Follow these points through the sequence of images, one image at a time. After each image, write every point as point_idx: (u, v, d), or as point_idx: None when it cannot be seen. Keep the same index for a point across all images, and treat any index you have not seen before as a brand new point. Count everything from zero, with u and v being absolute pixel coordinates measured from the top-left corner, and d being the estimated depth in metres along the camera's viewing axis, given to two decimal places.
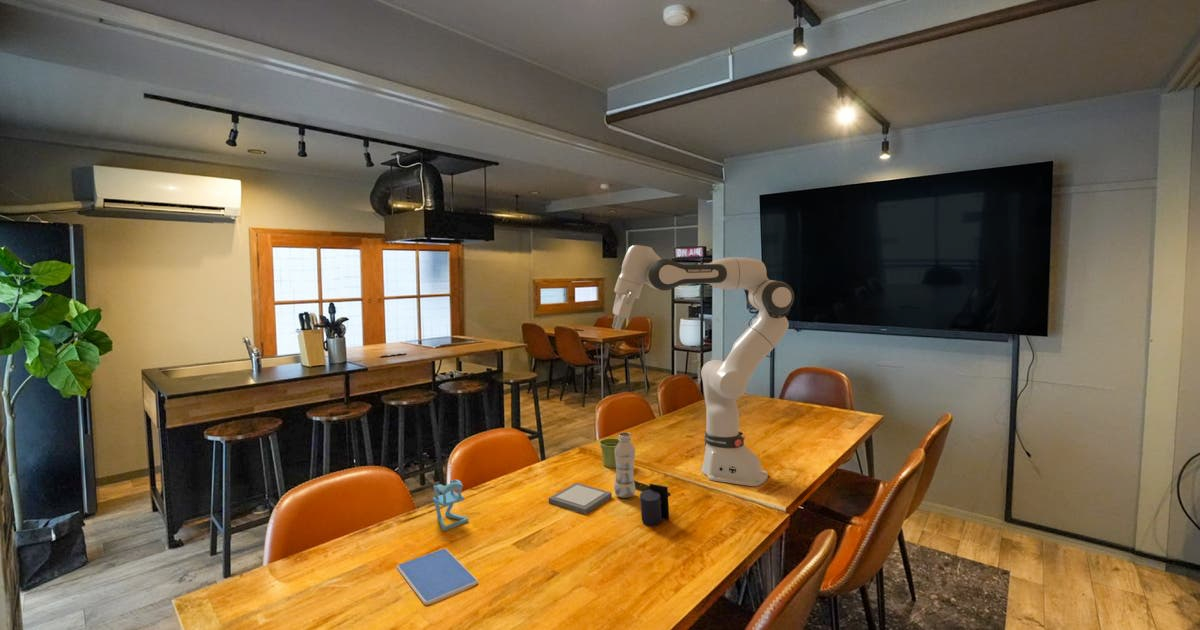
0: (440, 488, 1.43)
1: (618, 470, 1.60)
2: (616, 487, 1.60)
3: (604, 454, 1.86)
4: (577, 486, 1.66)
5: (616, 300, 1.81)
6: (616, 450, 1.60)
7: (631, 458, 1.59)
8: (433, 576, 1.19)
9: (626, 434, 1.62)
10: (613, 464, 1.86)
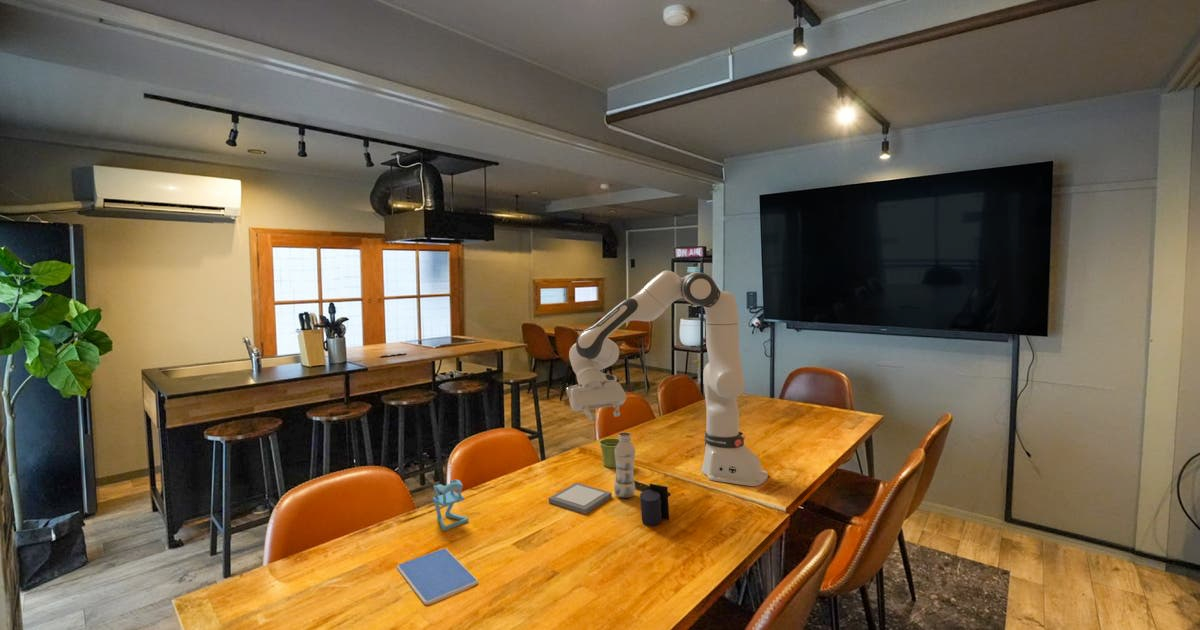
0: (440, 488, 1.43)
1: (618, 470, 1.60)
2: (616, 487, 1.60)
3: (604, 454, 1.86)
4: (577, 486, 1.66)
5: None
6: (616, 450, 1.60)
7: (631, 458, 1.59)
8: (433, 576, 1.19)
9: (626, 434, 1.62)
10: (613, 464, 1.86)
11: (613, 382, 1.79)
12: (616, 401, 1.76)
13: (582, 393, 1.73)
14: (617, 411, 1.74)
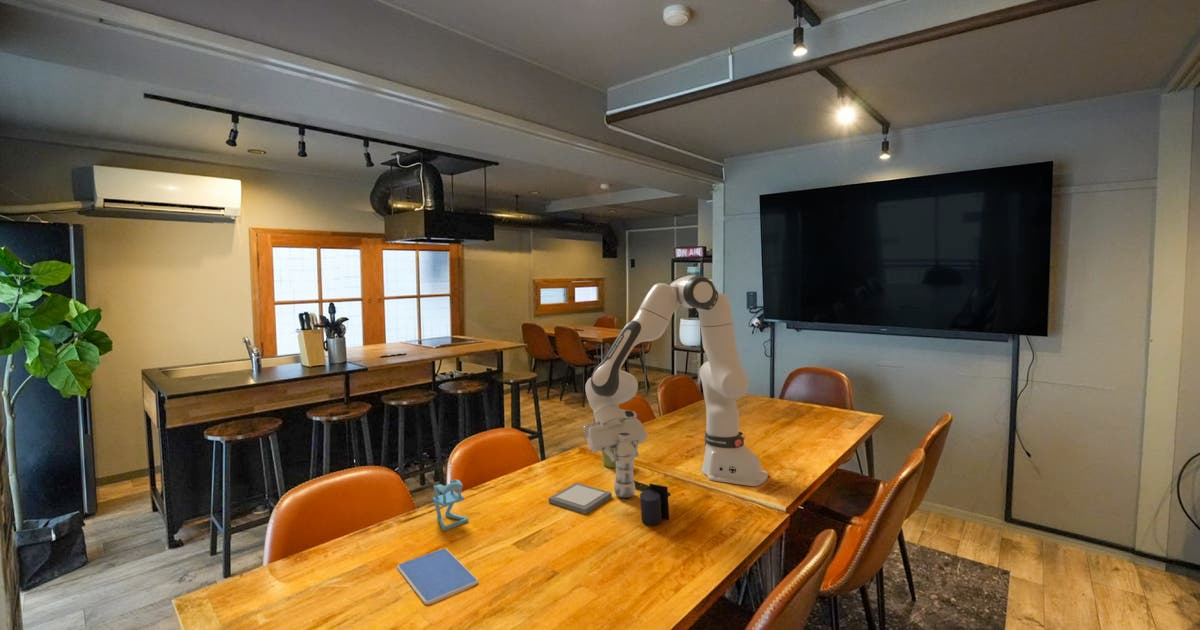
0: (440, 488, 1.43)
1: (618, 470, 1.60)
2: (616, 487, 1.60)
3: (604, 454, 1.86)
4: (577, 486, 1.66)
5: None
6: (616, 450, 1.60)
7: (631, 458, 1.59)
8: (433, 576, 1.19)
9: (626, 434, 1.62)
10: (613, 464, 1.86)
11: (633, 419, 1.69)
12: (636, 440, 1.65)
13: (600, 432, 1.62)
14: (635, 451, 1.63)
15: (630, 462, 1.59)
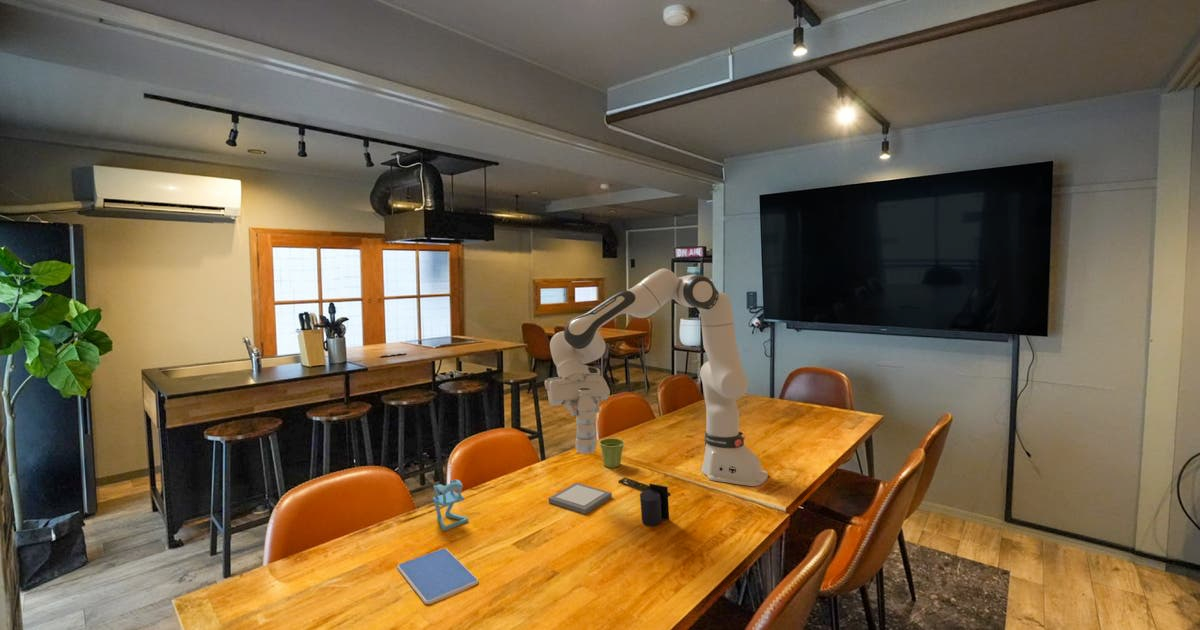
0: (440, 488, 1.43)
1: (578, 426, 1.57)
2: (577, 443, 1.57)
3: (604, 454, 1.86)
4: (577, 486, 1.66)
5: None
6: (576, 405, 1.56)
7: (591, 413, 1.56)
8: (433, 575, 1.19)
9: (586, 389, 1.59)
10: (613, 464, 1.86)
11: (596, 375, 1.65)
12: (598, 396, 1.62)
13: (561, 386, 1.59)
14: (597, 407, 1.59)
15: (590, 417, 1.56)
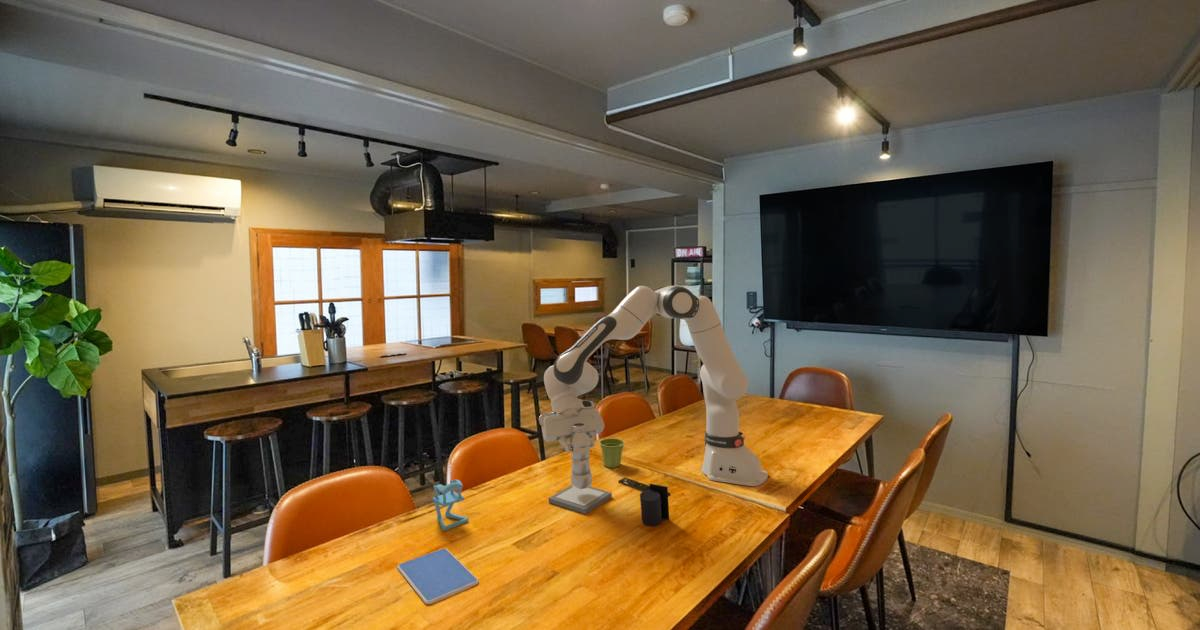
0: (440, 488, 1.43)
1: (573, 461, 1.57)
2: (572, 478, 1.58)
3: (604, 454, 1.86)
4: None
5: None
6: (570, 441, 1.57)
7: (586, 449, 1.56)
8: (433, 575, 1.19)
9: (581, 424, 1.59)
10: (613, 464, 1.86)
11: (590, 409, 1.66)
12: (593, 430, 1.62)
13: (556, 422, 1.60)
14: (591, 442, 1.60)
15: (585, 453, 1.56)
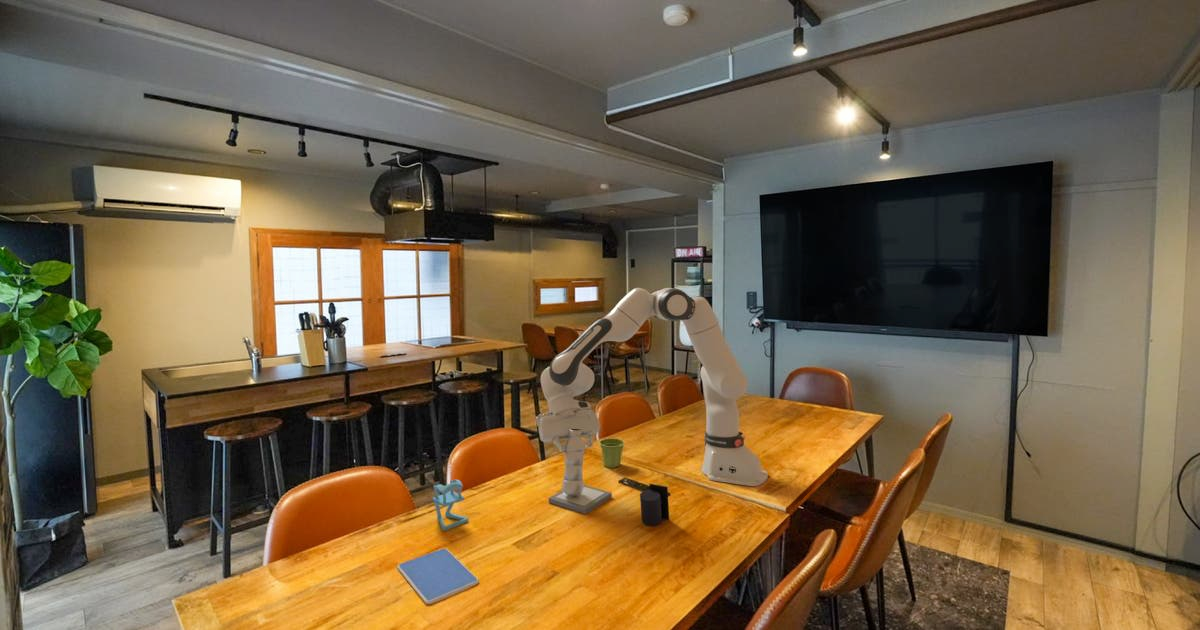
0: (440, 488, 1.43)
1: (566, 466, 1.58)
2: (564, 484, 1.57)
3: (604, 454, 1.86)
4: None
5: None
6: (565, 445, 1.58)
7: (580, 453, 1.57)
8: (434, 575, 1.19)
9: None
10: (613, 464, 1.86)
11: (586, 410, 1.68)
12: (589, 430, 1.65)
13: (552, 422, 1.62)
14: (590, 442, 1.62)
15: (579, 457, 1.57)
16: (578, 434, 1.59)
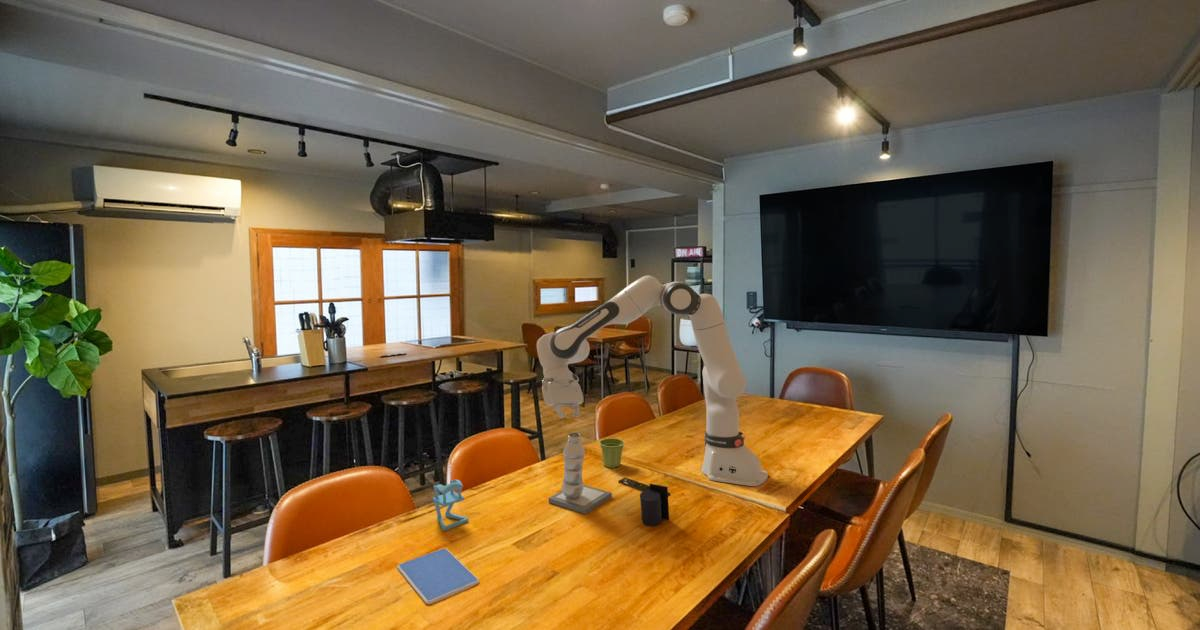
0: (440, 488, 1.43)
1: (566, 471, 1.55)
2: (563, 487, 1.56)
3: (604, 454, 1.86)
4: None
5: None
6: (564, 451, 1.54)
7: (579, 460, 1.54)
8: (434, 575, 1.19)
9: (576, 434, 1.56)
10: (613, 464, 1.86)
11: (576, 382, 1.81)
12: (577, 402, 1.78)
13: (556, 388, 1.70)
14: (578, 413, 1.77)
15: (579, 464, 1.54)
16: (577, 441, 1.53)
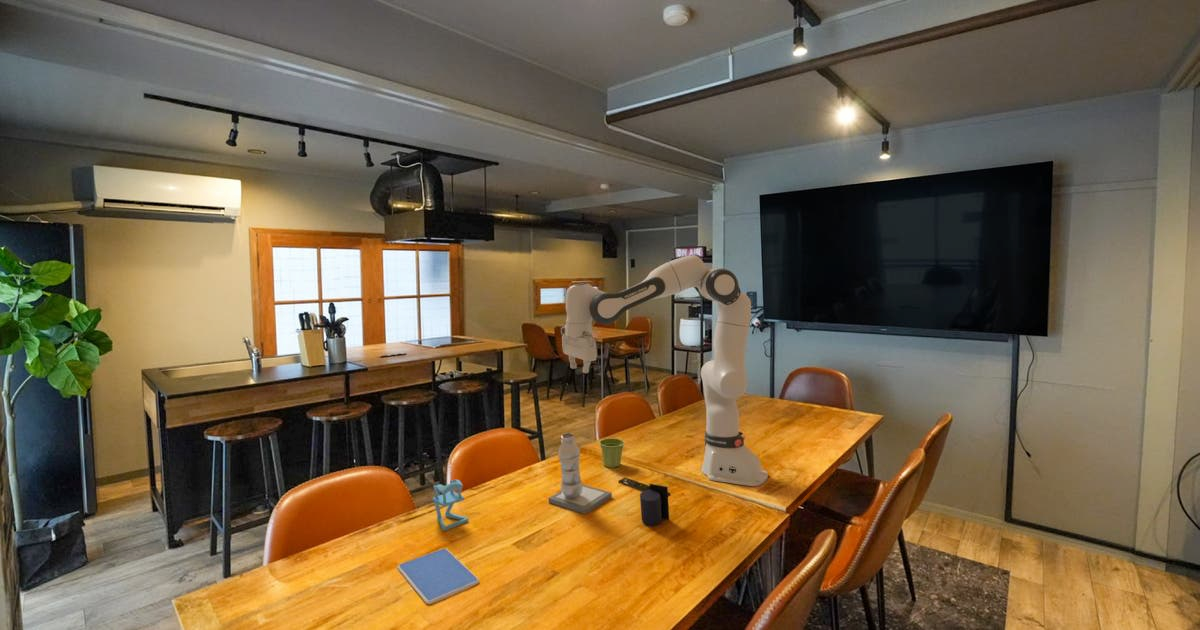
0: (440, 488, 1.43)
1: (563, 472, 1.55)
2: (562, 488, 1.56)
3: (604, 454, 1.86)
4: None
5: (565, 341, 1.82)
6: (559, 452, 1.54)
7: (575, 459, 1.53)
8: (434, 575, 1.19)
9: (569, 434, 1.56)
10: (613, 464, 1.86)
11: None
12: None
13: None
14: None
15: (575, 463, 1.54)
16: (571, 441, 1.53)
